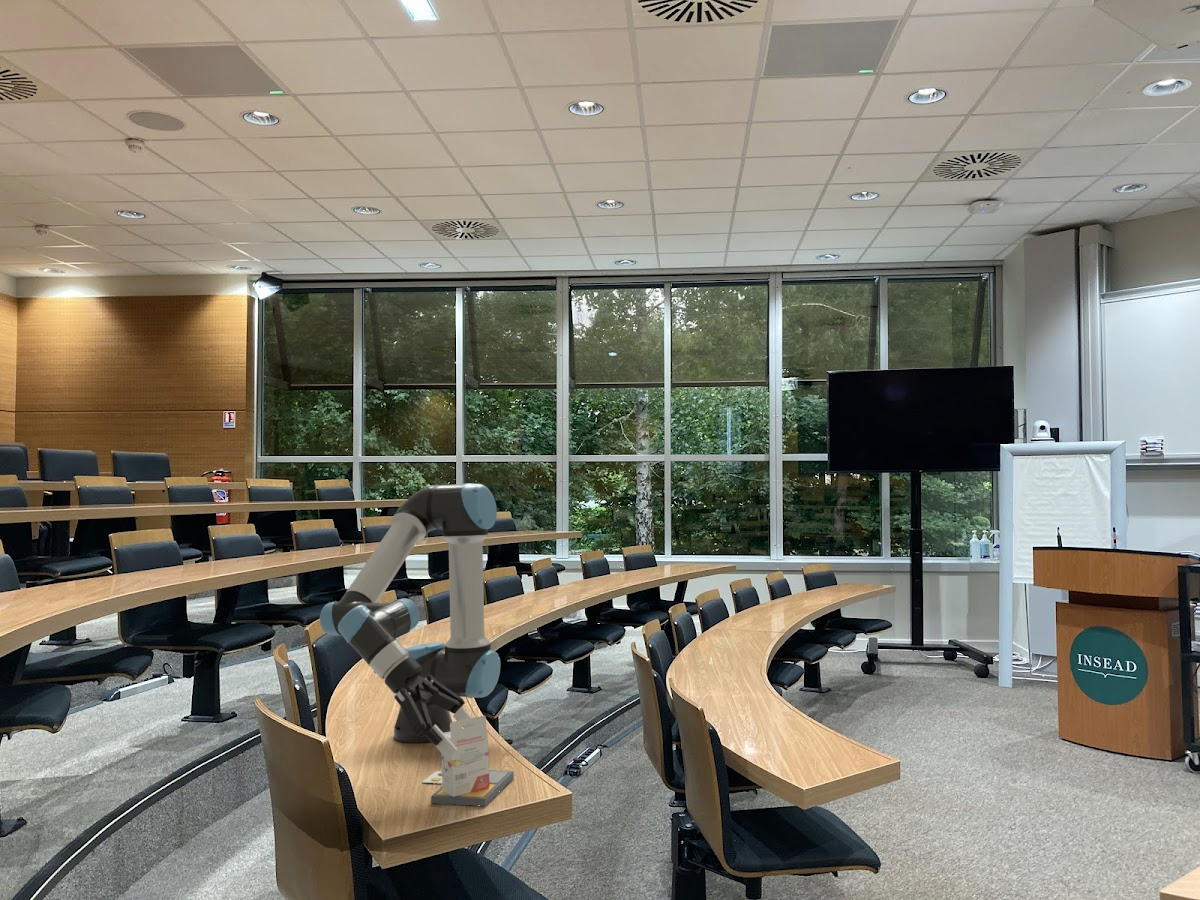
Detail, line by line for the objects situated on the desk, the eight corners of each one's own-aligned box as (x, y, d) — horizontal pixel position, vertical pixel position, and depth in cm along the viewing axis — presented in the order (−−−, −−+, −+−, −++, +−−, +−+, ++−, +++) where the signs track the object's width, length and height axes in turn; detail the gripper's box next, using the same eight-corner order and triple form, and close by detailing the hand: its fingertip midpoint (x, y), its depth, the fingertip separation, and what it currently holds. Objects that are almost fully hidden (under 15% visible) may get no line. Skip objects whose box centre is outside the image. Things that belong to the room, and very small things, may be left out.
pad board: (463, 775, 183) (463, 768, 183) (513, 778, 181) (513, 770, 181) (431, 803, 167) (431, 795, 167) (485, 806, 164) (485, 798, 165)
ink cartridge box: (479, 781, 174) (477, 710, 175) (490, 788, 170) (488, 715, 171) (441, 791, 170) (439, 717, 170) (451, 798, 165) (449, 722, 166)
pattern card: (435, 772, 186) (435, 770, 186) (456, 773, 185) (456, 771, 185) (422, 783, 179) (422, 781, 179) (443, 784, 178) (443, 782, 178)
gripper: (412, 667, 187) (476, 737, 183) (355, 695, 163) (428, 777, 159) (433, 644, 186) (498, 714, 182) (379, 668, 162) (453, 750, 158)
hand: (466, 743), depth 170 cm, fingers open, 13 cm apart
